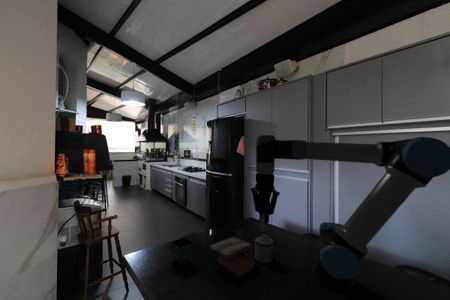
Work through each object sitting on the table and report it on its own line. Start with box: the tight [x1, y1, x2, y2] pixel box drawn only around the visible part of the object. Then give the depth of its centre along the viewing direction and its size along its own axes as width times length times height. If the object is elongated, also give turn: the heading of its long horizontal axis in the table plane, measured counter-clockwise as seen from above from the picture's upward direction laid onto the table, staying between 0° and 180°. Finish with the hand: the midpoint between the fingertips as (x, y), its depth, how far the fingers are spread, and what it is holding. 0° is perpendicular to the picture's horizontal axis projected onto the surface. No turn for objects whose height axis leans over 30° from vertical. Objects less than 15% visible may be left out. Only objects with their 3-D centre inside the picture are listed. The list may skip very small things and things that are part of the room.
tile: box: [217, 253, 256, 278], centre depth 96 cm, size 14×10×4 cm
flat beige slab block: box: [208, 236, 252, 263], centre depth 99 cm, size 12×16×8 cm
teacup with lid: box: [254, 234, 275, 264], centre depth 104 cm, size 12×9×12 cm
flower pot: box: [169, 236, 196, 266], centre depth 99 cm, size 9×9×9 cm
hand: (263, 230), depth 86 cm, fingers closed
